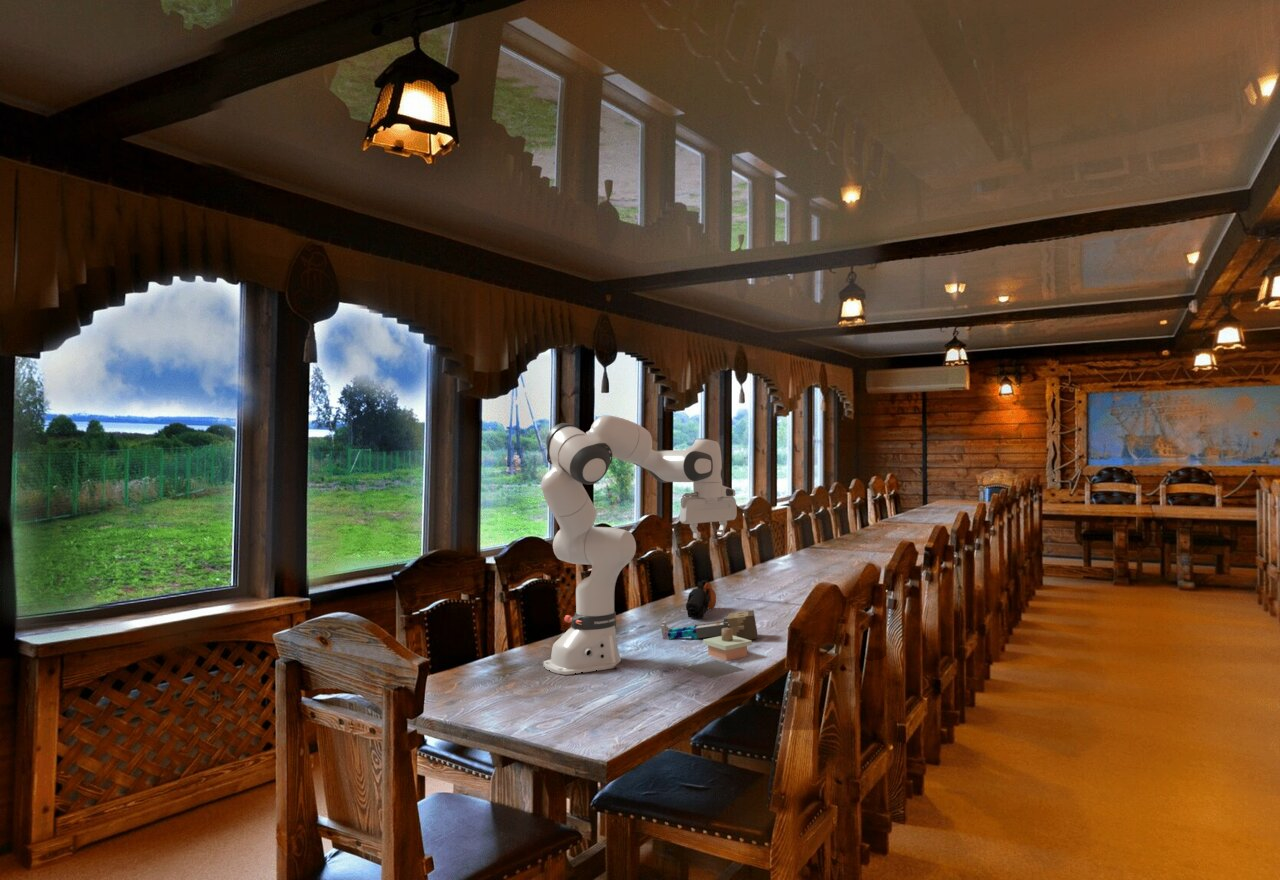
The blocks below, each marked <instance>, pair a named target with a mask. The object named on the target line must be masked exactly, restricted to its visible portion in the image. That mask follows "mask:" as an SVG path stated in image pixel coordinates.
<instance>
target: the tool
mask: <svg viewBox="0 0 1280 880" xmlns="http://www.w3.org/2000/svg"><path fill="white" fill-rule="evenodd" d="M686 601H687V602H686V604H685V608H686V609H685V610H686V611H687V612H686V613H687V617H688V618H689V619H690V618H691V619H703V618H705V614H706V613H707V611H710V609H713V610H714V608H715V606H716V605H717V593H716V591H714V589H713V587H712V584H711V583H710V582H709V581H708V580H707V579H704V580H703V579H701V581H698V582H697V587H696V588H693V589H691V591H690V592H689V593H688V597H687V600H686Z"/></svg>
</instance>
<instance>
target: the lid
mask: <svg viewBox="0 0 1280 880" xmlns="http://www.w3.org/2000/svg"><path fill="white" fill-rule="evenodd" d="M702 639H703V640H702V644H703V645H707V646H708V645H709V646H713V647H716V648H719V649H722V650H731V649H735V648H740V647H744V646H747V647H748V646H752V645H753V642H752V641H753V640H752V639H749V640H748V639H744V638H740V637H737V636H733V629H732V628H722V635H719V636H712V637H707V638H702Z"/></svg>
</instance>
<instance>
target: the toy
mask: <svg viewBox="0 0 1280 880" xmlns="http://www.w3.org/2000/svg"><path fill="white" fill-rule="evenodd" d="M756 622H757V621H756V617H755V610H754V609H752V610H745V611H735V612H731V613H728V615H727V616H724V617H723V620H718V621H710V622H702V623H697V624H695V625H692V626H691V625H690V626H683V627H675V628H670V627H669V626H667V622H666V621H662V624H661V625H660V629H661V635H662V640H673V638H674V640H676V639H681V638H682V639H683V638H688V637H689V638H691V640H697V639H706V638H713V637H718V636H722V628H732V629H733V636H737V637H740V638H744V639H748V640H756V639H758V638H759V637H758V628H757V623H756ZM670 638H671V639H670Z"/></svg>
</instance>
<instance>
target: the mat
mask: <svg viewBox="0 0 1280 880" xmlns="http://www.w3.org/2000/svg"><path fill="white" fill-rule="evenodd" d="M683 669H685V670H688V671H691V672H693V673H696V674H698V675H702V676H704V677H707V678H711V679H712V678H716V677H717V678H718V677H721V676H725V675H729V674H733V673H738V672H741V671H744V670H746V669H744V668H742V667H738V666H736V665H732V664H729V663H726V662H723V661H720V660H717V659H715V660H711V661H707V662H702V663H699V664H692V665H690V666H685V667H683Z"/></svg>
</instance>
